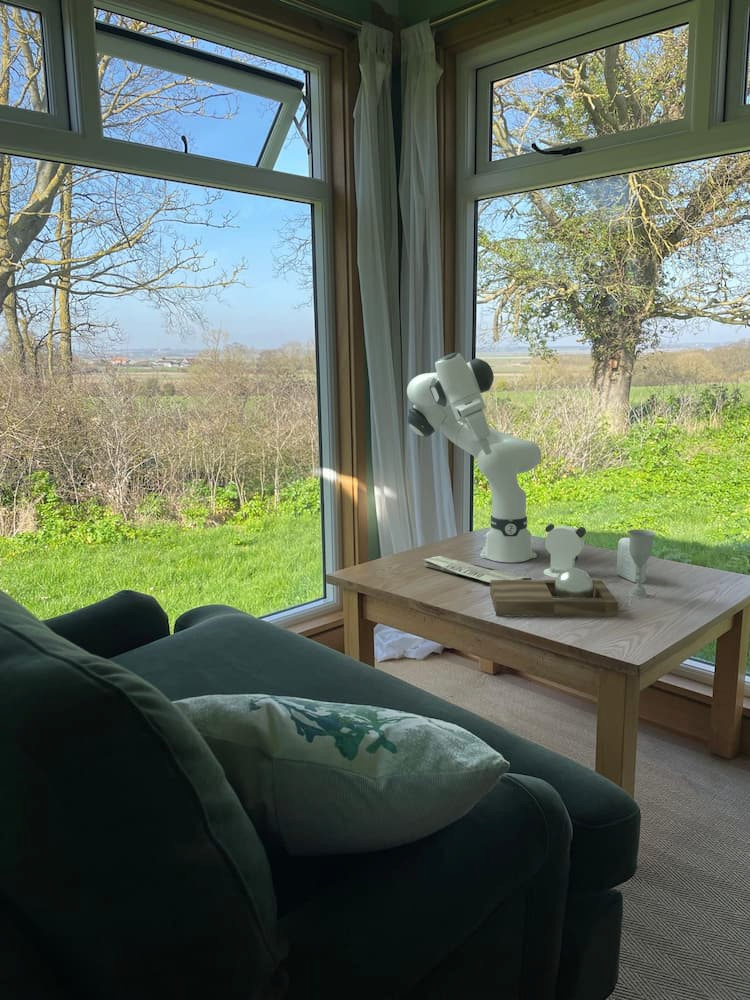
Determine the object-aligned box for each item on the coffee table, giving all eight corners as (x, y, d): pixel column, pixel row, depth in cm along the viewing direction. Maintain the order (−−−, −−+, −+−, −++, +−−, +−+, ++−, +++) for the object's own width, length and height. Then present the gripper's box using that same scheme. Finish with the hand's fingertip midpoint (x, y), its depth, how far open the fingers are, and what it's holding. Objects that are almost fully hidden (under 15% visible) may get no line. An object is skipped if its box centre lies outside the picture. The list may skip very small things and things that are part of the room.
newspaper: (531, 583, 214) (531, 572, 214) (506, 593, 206) (506, 581, 205) (441, 561, 239) (441, 551, 239) (416, 569, 231) (416, 558, 230)
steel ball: (590, 567, 198) (584, 602, 199) (553, 562, 198) (548, 597, 199) (600, 574, 188) (594, 611, 189) (562, 569, 188) (556, 606, 189)
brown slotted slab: (490, 593, 205) (490, 579, 204) (600, 593, 202) (601, 580, 201) (495, 615, 187) (496, 601, 186) (617, 616, 185) (617, 601, 184)
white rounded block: (648, 582, 211) (650, 542, 208) (635, 584, 209) (637, 543, 207) (626, 573, 220) (628, 534, 218) (614, 574, 219) (616, 535, 217)
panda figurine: (586, 570, 223) (588, 524, 220) (579, 581, 214) (581, 532, 211) (548, 566, 229) (549, 520, 226) (539, 576, 219) (540, 528, 216)
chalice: (619, 592, 203) (622, 530, 199) (638, 589, 205) (642, 528, 201) (637, 600, 196) (640, 536, 192) (657, 597, 198) (660, 534, 195)
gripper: (457, 415, 210) (476, 458, 210) (460, 410, 189) (480, 458, 189) (477, 406, 209) (496, 450, 209) (482, 401, 189) (502, 449, 189)
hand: (488, 454), depth 199 cm, fingers closed
